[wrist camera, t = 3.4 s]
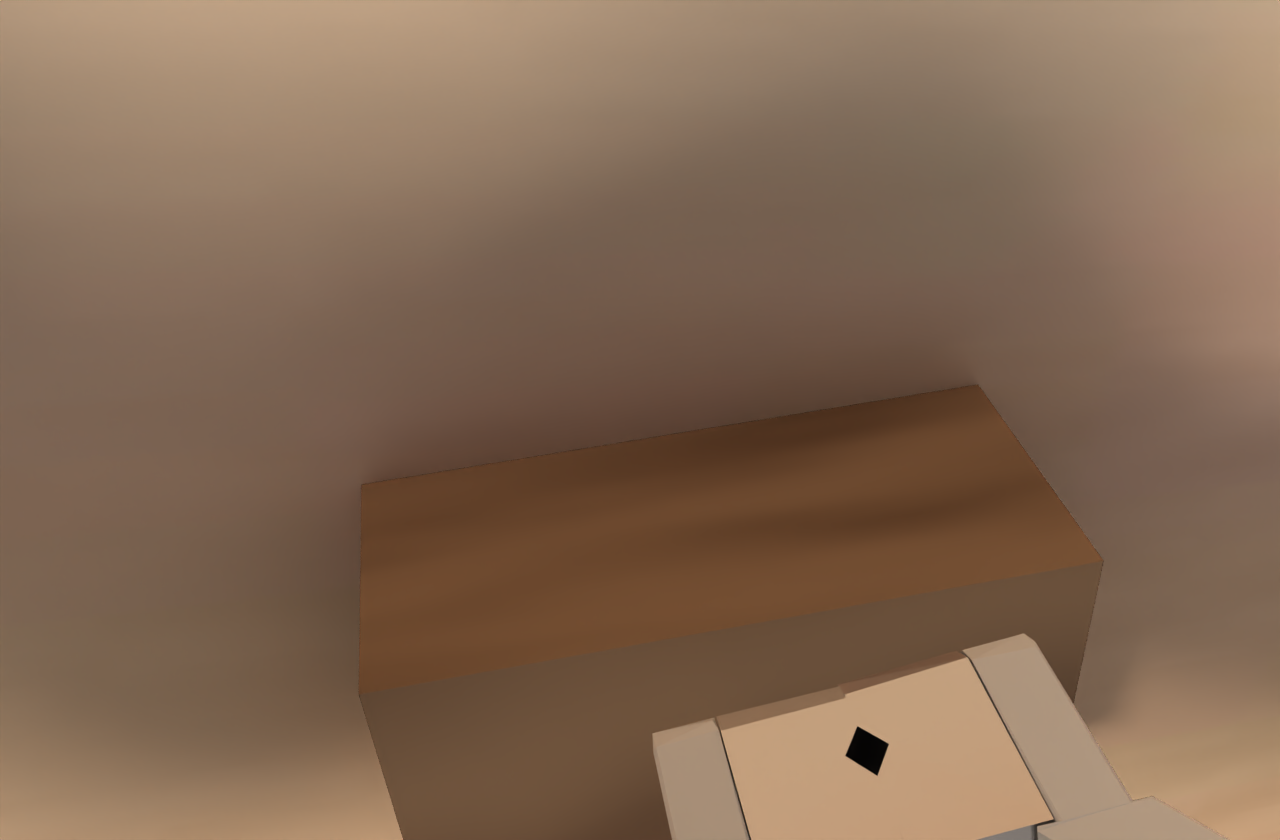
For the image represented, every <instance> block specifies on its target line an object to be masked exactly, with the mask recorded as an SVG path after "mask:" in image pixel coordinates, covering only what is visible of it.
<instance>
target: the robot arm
mask: <svg viewBox="0 0 1280 840" xmlns="http://www.w3.org/2000/svg"><path fill="white" fill-rule="evenodd" d="M716 717H717V722H718V726H719V730H720V733H719V730H718V727H717V724H716V721H715V718H711V719H707V720H703V721H699V722H695V723H691V724H687V725H683V726H679V727H675V728H671V729H667V730H664V731H660V732H656V733H652V735H653V753H654V758H655V762H656V767H657V772H658V776H659V781H660V786H661V790H662V795H663V800H664V804H665V809H666V814H667V818H668V823H669V828H670V832H671V837H672V840H1230V839H1228V838H1226V837H1224V836H1223V835H1221V834H1219V833H1217V832H1215V831H1214V830H1212V829H1210V828H1208V827H1207V826H1205V825H1203V824H1201V823H1199V822H1198V821H1196V820H1194V819H1192V818H1191V817H1189V816H1187V815H1185V814H1184V813H1182V812H1180V811H1178V810H1176V809H1175V808H1173V807H1171V806H1169V805H1168V804H1166V803H1164V802H1162V801H1161V800H1159V799H1157V798H1155V797H1153V796H1150V797H1146V798H1142V799H1137V800H1133V801H1132V799H1131V797H1130V796H1129V794H1128V792H1127V791H1126V789H1125V787H1124V786H1123V784H1122V783H1121V781H1120V779H1119V778H1118V776H1117V774H1116V773H1115V771H1114V769H1113V768H1112V766H1111V765H1110V763H1109V761H1108V760H1107V758H1106V756H1105V755H1104V753H1103V752H1102V750H1101V748H1100V747H1099V745H1098V743H1097V742H1096V740H1095V738H1094V737H1093V735H1092V734H1091V732H1090V730H1089V729H1088V727H1087V725H1086V724H1085V722H1084V721H1083V719H1082V717H1081V716H1080V714H1079V712H1078V711H1077V709H1076V707H1075V706H1074V704H1073V703H1072V701H1071V699H1070V698H1069V696H1068V694H1067V693H1066V691H1065V690H1064V688H1063V686H1062V685H1061V683H1060V681H1059V680H1058V678H1057V676H1056V675H1055V673H1054V672H1053V670H1052V668H1051V667H1050V665H1049V663H1048V662H1047V660H1046V659H1045V657H1044V655H1043V654H1042V652H1041V650H1040V649H1039V647H1038V645H1037V644H1036V642H1035V641H1034V640H1032V639H1031V638H1030V637H1028V636H1027V635H1025V634H1024V633H1023V634H1020V635H1016V636H1012V637H1009V638H1005V639H1001V640H998V641H994V642H990V643H987V644H983V645H979V646H976V647H972V648H968V649H965V650H962V651H961V652H958V651H954V652H950V653H947V654H943V655H940V656H936V657H933V658H929V659H926V660H922V661H919V662H915V663H912V664H908V665H905V666H901V667H898V668H894V669H891V670H887V671H884V672H880V673H877V674H873V675H870V676H866V677H863V678H859V679H856V680H852V681H849V682H845V683H842V684H838V685H837V687H835V688H831V689H827V690H823V691H818V692H814V693H810V694H806V695H802V696H798V697H794V698H790V699H786V700H782V701H778V702H773V703H769V704H765V705H761V706H757V707H753V708H749V709H745V710H741V711H737V712H733V713H729V714H724V715H720V716H716ZM720 734H721V737H720ZM721 738H722V740H721ZM722 742H723V744H722ZM723 746H724V747H723ZM724 750H725V751H724Z"/></svg>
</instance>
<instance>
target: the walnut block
mask: <svg viewBox="0 0 1280 840" xmlns="http://www.w3.org/2000/svg"><path fill="white" fill-rule="evenodd" d="M1102 566H1103V559H1102V558H1101V557H1100V555H1099V554H1098V552H1097V551H1096V550H1095V548H1094V547H1093V545H1092V544H1091V543H1090V541H1089V540H1088V538H1087V537H1086V536H1085V534H1084V533H1083V531H1082V530H1081V529H1080V527H1079V526H1078V524H1077V523H1076V522H1075V520H1074V519H1073V517H1072V516H1071V515H1070V513H1069V512H1068V510H1067V509H1066V507H1065V506H1064V505H1063V503H1062V502H1061V500H1060V499H1059V498H1058V496H1057V495H1056V493H1055V492H1054V491H1053V489H1052V488H1051V486H1050V485H1049V484H1048V482H1047V481H1046V479H1045V478H1044V477H1043V475H1042V474H1041V472H1040V471H1039V470H1038V468H1037V467H1036V465H1035V464H1034V463H1033V461H1032V460H1031V458H1030V457H1029V456H1028V454H1027V453H1026V451H1025V450H1024V448H1023V447H1022V446H1021V444H1020V443H1019V441H1018V440H1017V439H1016V437H1015V436H1014V434H1013V433H1012V432H1011V430H1010V429H1009V427H1008V426H1007V425H1006V423H1005V422H1004V420H1003V419H1002V418H1001V416H1000V415H999V413H998V412H997V411H996V409H995V408H994V406H993V405H992V404H991V402H990V401H989V399H988V398H987V397H986V395H985V394H984V392H983V391H982V389H981V388H980V387H979V385H973V386H966V387H960V388H954V389H948V390H942V391H936V392H929V393H923V394H917V395H911V396H905V397H899V398H892V399H886V400H880V401H874V402H868V403H862V404H855V405H849V406H843V407H837V408H831V409H825V410H819V411H812V412H806V413H800V414H794V415H788V416H782V417H775V418H769V419H763V420H757V421H751V422H745V423H738V424H732V425H726V426H720V427H714V428H708V429H702V430H695V431H689V432H683V433H677V434H671V435H665V436H658V437H652V438H646V439H640V440H634V441H628V442H621V443H615V444H609V445H603V446H597V447H591V448H585V449H578V450H572V451H566V452H560V453H554V454H548V455H541V456H535V457H529V458H523V459H517V460H511V461H504V462H498V463H492V464H486V465H480V466H474V467H468V468H461V469H455V470H449V471H443V472H437V473H431V474H424V475H418V476H412V477H406V478H400V479H394V480H387V481H381V482H375V483H369V484H363V485H362V494H361V568H360V643H359V697H360V700H361V703H362V706H363V710H364V713H365V716H366V719H367V723H368V726H369V729H370V733H371V736H372V739H373V742H374V746H375V749H376V752H377V755H378V759H379V762H380V765H381V768H382V772H383V775H384V778H385V781H386V785H387V788H388V791H389V794H390V798H391V801H392V804H393V807H394V811H395V814H396V817H397V821H398V824H399V827H400V830H401V834H402V837H403V840H672V837H671V832H670V828H669V823H668V818H667V814H666V809H665V804H664V800H663V795H662V790H661V786H660V781H659V776H658V772H657V767H656V762H655V758H654V753H653V735H652V733H656V732H660V731H664V730H667V729H671V728H675V727H679V726H683V725H687V724H691V723H695V722H699V721H703V720H707V719H711V718H715V721H716V724H717V727H718V730H719V726H718V722H717V717H716V716H720V715H724V714H729V713H733V712H737V711H741V710H745V709H749V708H753V707H757V706H761V705H765V704H769V703H773V702H778V701H782V700H786V699H790V698H794V697H798V696H802V695H806V694H810V693H814V692H818V691H823V690H827V689H831V688H835V687H837V685H838V684H842V683H845V682H849V681H852V680H856V679H859V678H863V677H866V676H870V675H873V674H877V673H880V672H884V671H887V670H891V669H894V668H898V667H901V666H905V665H908V664H912V663H915V662H919V661H922V660H926V659H929V658H933V657H936V656H940V655H943V654H947V653H950V652H954V651H958V652H961V651H962V650H965V649H968V648H972V647H976V646H979V645H983V644H987V643H990V642H994V641H998V640H1001V639H1005V638H1009V637H1012V636H1016V635H1020V634H1023V633H1024V634H1025V635H1027V636H1028V637H1030V638H1031V639H1032V640H1034V641H1035V642H1036V644H1037V645H1038V647H1039V649H1040V650H1041V652H1042V654H1043V655H1044V657H1045V659H1046V660H1047V662H1048V663H1049V665H1050V667H1051V668H1052V670H1053V672H1054V673H1055V675H1056V676H1057V678H1058V680H1059V681H1060V683H1061V685H1062V686H1063V688H1064V690H1065V691H1066V693H1067V694H1068V696H1069V698H1070V699H1071V701H1072V703H1074V698H1075V693H1076V689H1077V684H1078V679H1079V675H1080V670H1081V665H1082V660H1083V656H1084V651H1085V646H1086V641H1087V637H1088V632H1089V627H1090V623H1091V618H1092V613H1093V608H1094V604H1095V599H1096V594H1097V589H1098V585H1099V580H1100V575H1101V571H1102ZM719 733H720V730H719ZM720 737H721V734H720ZM721 740H722V738H721ZM722 744H723V742H722ZM723 747H724V746H723ZM724 751H725V750H724Z"/></svg>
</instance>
